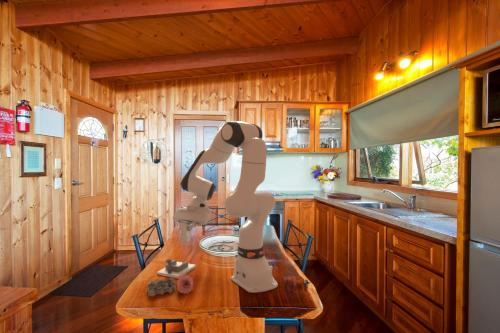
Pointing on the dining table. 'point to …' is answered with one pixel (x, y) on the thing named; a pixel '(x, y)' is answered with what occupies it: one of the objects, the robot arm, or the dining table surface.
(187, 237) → the end link
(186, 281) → the flower
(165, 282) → the egg carton
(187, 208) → the robot arm
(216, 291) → the dining table surface
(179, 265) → the keeper board
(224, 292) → the dining table surface
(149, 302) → the dining table surface
